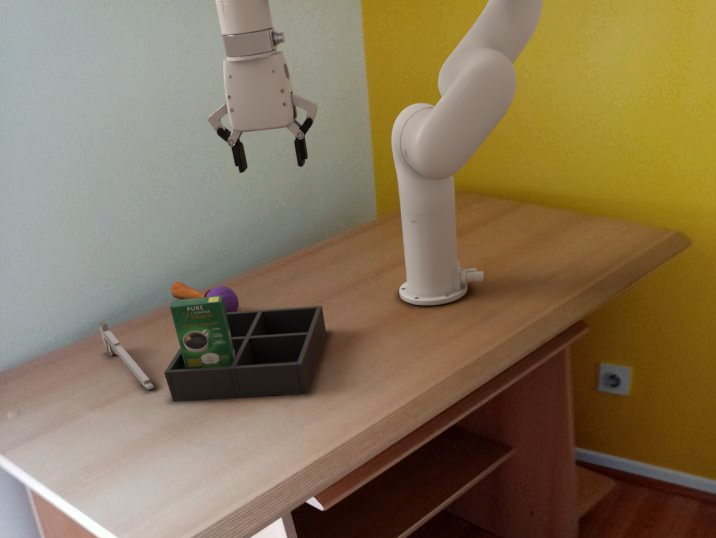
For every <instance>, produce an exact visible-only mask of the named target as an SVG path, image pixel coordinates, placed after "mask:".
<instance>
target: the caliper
mask: <svg viewBox="0 0 716 538" xmlns="http://www.w3.org/2000/svg"><path fill="white" fill-rule="evenodd" d="M98 328H99V331H100V335H101V338H102V340H103V345H104V346H105V349H106V351H107V353H109V354H110V356H111V357H112V356H114V355H116V357H119V358H120V359H121V361H123V363H124V364H125V365H126V367H128V369H129V370H130V372H132V374H133V375H134V376H135V377H136V379H137V380H138V381H139V383H140V384H141V385H142V386H143V388H144V389H147V390H148V391H149V390H152V389H154V384H153V383H152V382H151V380H150V378H149V377H148V376H147V375H146V373H145V372H144V371H143V370H142V369H141V367H140V366H139V365H138V363H136V361H135V360H134V359H133V358H132V357H131V355H130V354H129V353H128V352H127V350H126V349H125V348H124V347H123V346H122V345H121V343H120V341H119V340H118V338H117V337H116V336H115V335H114V333H112V331H111V330H110V329H109V327H108V323H106V322H105V320H100V321H98Z"/></svg>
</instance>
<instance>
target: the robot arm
mask: <svg viewBox="0 0 716 538" xmlns="http://www.w3.org/2000/svg"><path fill="white" fill-rule="evenodd" d="M214 1H215V6H216V12H217V17H218V22H219V26H220V31H221V36H222V42H223V46H224V51H225V56H226V58H224V59H223V60H222V67H223V68H222V72H223V73H222V75H223V85H224V93H225V95H224V96H225V101H226V102H225V103H224V104H223V105H222V106H221V107H219V108H218V109H216V110H215V111H214V112H213V113H212V114H210V115H209V116H208V117H207V121H208V122H209V125H210V126H211V127H212V128H213V131H215V132H216V135H217V136H218V137H219V138H220V139H221V140H223V141H224V142H226V143H227V145H228V146H229V147H230V148H231V153H232V158H233V162H234V166H235V167H238V172H239V173H240V174H243V173H244V172H245V171H246V170H247V169H248V167H249V166H248V162H247V156H246V152H245V146H244V143H243V142H242V141H241V139H240V138H242V135H243V133H249V132H259V131H268V130H269V131H270V130H277V129H283V128H286V129H288V130H289V131H290V132H291V133H292V135H294V137H295V139H294V140H293V144H294V151H295V156H296V157H295V158H296V163H297V167H299V168H303V167H304V165H305V164H306V160H308V158H309V154H308V148H307V142H306V134H307V133H308V132H309V130H311V127H312V126H313V124H314V123H315V118H316V115H317V112H318V108H319V105H318V104H317V102H314V101H311V100H310V99H306V98H305V97H302V96H300V95H297V93H294V87H293V82H292V79H291V75H290V71H289V67H288V64H287V61H286V57H285V56H284V52H283V51H282V50H277V48H278V46H279V45H281V44H283V43H285V42H286V39H285V38H286V37H285V34H284V31H282V32H279V31H276V30H275V27H274V26H273V20H272V13H271V8H270V3H269V0H214ZM543 4H544V0H488V1H487V3H486V5H485V7H484V9H483V10H482V12H481V13H480V15H479V16H478V18H477V19H476V20H475V22H474V23H473V25H472V26H471V27H470V28H469V30H468V31H467V32H466V33H465V35H464V36H463V37H462V39H461V40H460V42H459V43H458V45H456V47H455V48H454V49H453V51H452V52H451V53H450V54H449V56H448V57H447V58H446V60H445V61H444V62H443V64H442V66H441V68H440V70H439V74H438V77H437V78H438V79H437V88H438V91H439V94H440V96H441V98H440V99H439V100H438V101H437V103H436V104H435V105H433V104H430V103H426V102H417V103H412V104H410V105H408V106H407V107H405V108H404V109H403V110H401V112H399V114H398V115H397V117H396V119H395V121H394V122H393V126H392V129H391V138H390V139H391V140H390V141H391V150H392V157H393V162H394V167H395V173H396V179H397V187H398V188H397V189H398V196H399V207H400V219H401V230H402V241H403V242H402V243H403V254H404V264H405V276H406V281H405V282H404V283H403V284H401V285H400V287H399V289H398V290H399V298H400V299H401V300H402V301H404V302H406V303H408V304H410V305H415V306H424V307H425V306H439V305H444V304H448V303H452V302H456V301H457V300H459V299H462V297H464V296H465V295H466V294H467V293H468V289H469V288H468V283H473V284H474V283H484V279H485V278H484V270H479V271H478V270H477V267H472V268H464V267H461V261H460V260H459V256H458V254H459V253H458V238H457V236H458V235H457V233H458V232H457V215H456V213H457V212H456V191H455V190H456V189H455V181H454V179H455V178H454V175H455V174H457V173H458V172H459V171H460V170H461V169H462V168H464V166H465V165H466V164H467V163H468V162H469V161H470V160H471V158H472V157H473V156H474V154H475V153H476V152H477V151H478V150H479V148H480V147H481V146H482V144H484V142H485V141H486V139H487V138H488V137H489V136H490V134H491V133H492V132H493V131H494V129H495V128H496V127H497V125H498V124H499V123H500V122H501V121H502V119H503V118H504V117H505V115H506V114H507V113H508V111H509V109H510V107H511V105H512V103H513V101H514V98H515V95H516V89H517V72H516V69H515V67H514V63H515V62H516V61H517V59H518V58H519V57H520V55H521V53H522V52H523V51H524V49H525V48H526V46H527V45H528V43H529V42H530V41H531V39H532V37H533V36H534V34H535V32H536V30H537V28H538V25H539V22H540V19H541V16H542V10H543V6H544V5H543ZM297 107H298V108H300V109H302V110H304V111H305V112H306V117H305V119H304V121H303V122H302V123H300V122H299V121H298V119H297V118H298V108H297ZM227 114H228V119H229V124H230V127H231V129H232V131H231V130H229V129H228V128H227V127H226V126H224V124H223V122H222V120H221V119H222V118H224V117H225V116H226V115H227Z"/></svg>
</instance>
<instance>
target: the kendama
mask: <svg viewBox="0 0 716 538" xmlns="http://www.w3.org/2000/svg"><path fill="white" fill-rule="evenodd" d="M170 293H171V295H172V297H173V298H176V300H182V299H192V298H201V297H211V296H219V295H222V296H223V301H224V305H225V310H226V313H227V312H238V309H239V306H240V305H239V304H240V302H239V297H238V296H237V294H236V293H235V291H234V290H233V289H232V288H230V287H228V286H223V285H218V286H215V287H213V288H210V289H208V290H207V291H206V292H204V293H203V292H200V291H199V290H197V289H195V288H194V287H191V286H189V285H187V284H185V283H183V282H182V281H175V282H173V283H172V285H171V287H170Z"/></svg>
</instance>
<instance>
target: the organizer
mask: <svg viewBox="0 0 716 538" xmlns="http://www.w3.org/2000/svg"><path fill="white" fill-rule="evenodd" d="M226 314H227V319H228V324H229V328H230V333H231V338H232V343H233V347H234V351H235V356H236V357H235V359H234V361H233V363H232V365H231V367H230V366H227V367H211V368H195V369H186V366H185V363H184V359H183V355H182V352H181V348H180V347H179V349H178V350H177V352H176V353H175V355H174V357H173V358H172V359H171V361H170V363H169V364H168V366H167V367H166V368H165V371H164V373H163V374H164V378H165V380H166V383H167V386H168V390H169V393H170V395H171V400H172V402H180V401H198V400H199V401H200V400H201V401H202V400H217V399H233V398H235V399H237V398H252V397H253V398H254V397H273V396H289V395H291V396H292V395H305V394H308V391H309V389H310V385H311V383H312V379H313V377H314V376H313V375H314V372H315V370H316V366H317V364H318V360H319V357H320V354H321V350H322V348H323V344H324V341H325V337H326V336H327V328H326V322H325V316H324V311H323V305H312V306H300V307H299V306H298V307H297V306H296V307H285V308H272V309H271V308H270V309H258V310H256V309H255V310H242V311H237V312H227V313H226Z"/></svg>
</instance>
